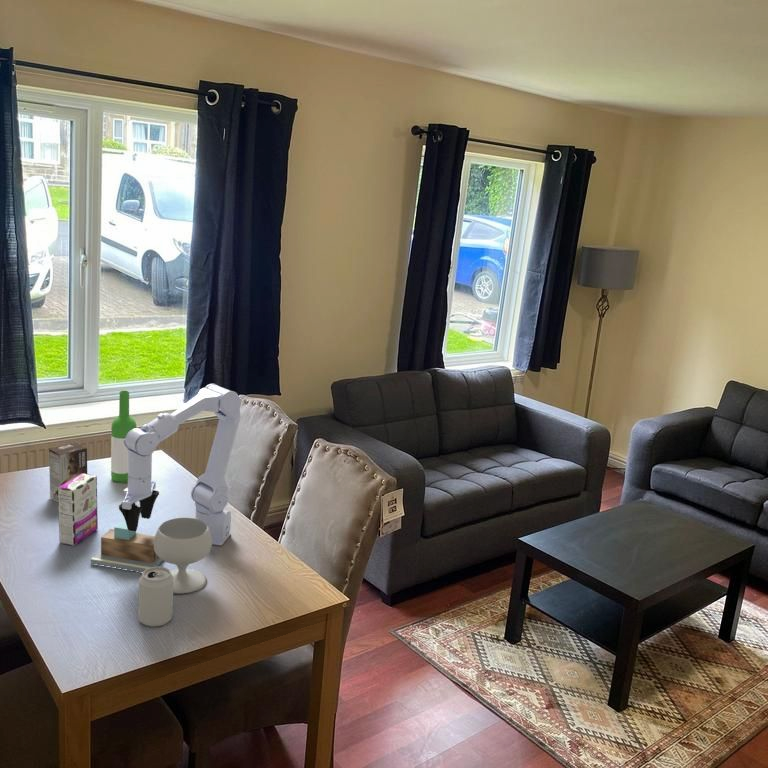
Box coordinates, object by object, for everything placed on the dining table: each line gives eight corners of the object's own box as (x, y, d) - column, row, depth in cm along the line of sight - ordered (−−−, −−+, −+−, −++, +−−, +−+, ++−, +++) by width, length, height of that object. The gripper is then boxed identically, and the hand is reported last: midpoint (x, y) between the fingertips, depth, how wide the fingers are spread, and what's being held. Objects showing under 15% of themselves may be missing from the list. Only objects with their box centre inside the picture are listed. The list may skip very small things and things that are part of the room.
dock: (168, 554, 197) (168, 549, 197) (149, 574, 187) (149, 568, 186) (112, 545, 199) (112, 540, 199) (90, 564, 189) (90, 558, 188)
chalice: (211, 568, 193) (214, 515, 189) (208, 597, 179) (211, 541, 176) (156, 568, 190) (157, 515, 186) (149, 597, 177) (150, 540, 173)
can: (142, 609, 172) (143, 563, 169) (175, 611, 172) (176, 565, 169) (134, 628, 164) (135, 580, 161) (168, 629, 165) (170, 581, 162)
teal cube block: (136, 533, 194) (136, 523, 193) (128, 540, 190) (128, 529, 189) (121, 531, 194) (121, 520, 193) (114, 537, 190) (114, 527, 189)
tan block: (160, 554, 194) (160, 537, 193) (151, 563, 189) (152, 545, 188) (110, 546, 196) (110, 529, 195) (101, 554, 191) (101, 537, 190)
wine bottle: (140, 480, 243) (141, 393, 236) (118, 485, 238) (118, 396, 230) (128, 472, 248) (129, 387, 241) (106, 477, 243) (107, 390, 235)
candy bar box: (82, 526, 208) (81, 472, 204) (98, 529, 207) (98, 475, 203) (57, 543, 198) (56, 486, 194) (74, 546, 197) (74, 489, 193)
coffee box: (76, 490, 231) (76, 441, 227) (88, 496, 227) (88, 447, 223) (48, 498, 224) (48, 448, 220) (60, 504, 220) (60, 454, 216)
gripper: (138, 463, 195) (137, 510, 198) (110, 483, 181) (110, 533, 184) (163, 467, 194) (162, 514, 197) (137, 487, 180) (137, 537, 183)
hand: (139, 523), depth 191 cm, fingers open, 7 cm apart
